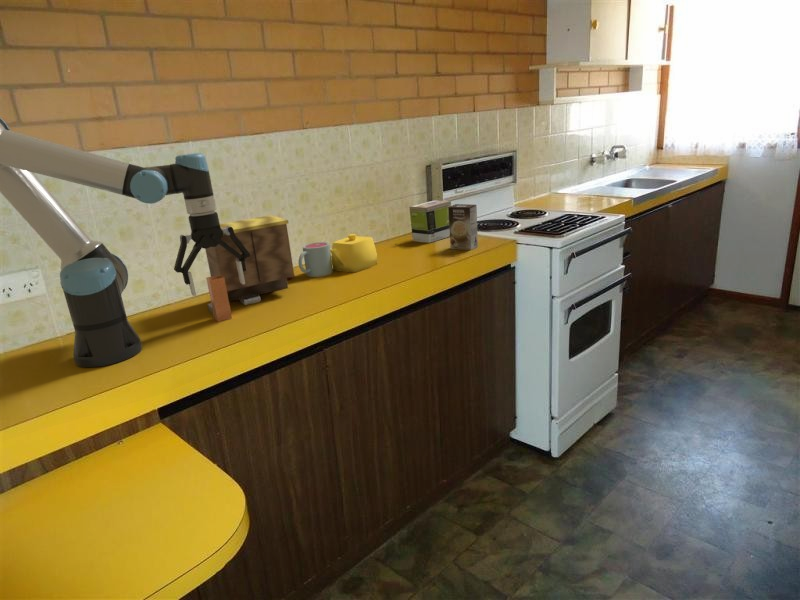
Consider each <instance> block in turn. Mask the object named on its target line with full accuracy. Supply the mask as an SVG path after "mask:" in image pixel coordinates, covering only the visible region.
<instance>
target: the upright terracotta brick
mask: <svg viewBox="0 0 800 600" xmlns="http://www.w3.org/2000/svg"><path fill="white" fill-rule="evenodd" d="M205 279H206V283H207V288H208V294H209V298H210V303H207V308H208V310H209V311H210V312H211V313H212V314H213V319H215V320H216V321H217V322H222V321H223V322H224V321H226V320H227V321H228V320H231V319H233V316H232V311H231V306H230V302H229V299H228V294H227V289H226V284H225V278H224V277H223V276H222V275H216V276H211V275H210V276H207V277H206V278H205Z"/></svg>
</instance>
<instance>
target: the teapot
mask: <svg viewBox="0 0 800 600" xmlns="http://www.w3.org/2000/svg"><path fill="white" fill-rule="evenodd" d="M330 253H331V260H332V268H333V271H338V272H345V273H358V272H361V271H364V270H367V269H370V268H372V267H374V266H377V264H378V254H377V248H376V245H375V242H374V239H373V237H372V236H367V235H366V236H361V235H357V233H356V234H355V233H351V234H347V237H345V238H341V239H339V240H335V241H333V242H332V243H331V249H330Z"/></svg>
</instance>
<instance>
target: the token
mask: <svg viewBox="0 0 800 600" xmlns="http://www.w3.org/2000/svg"><path fill="white" fill-rule="evenodd" d="M239 298H240V299H239V302H240V303H242V304H243V305H245V306H247V305H250V304H251V305H252V304H256V303H259V302H262V299H261V296H260V294H259V295H258V294H256V293H252V294H248V295H243V296H239Z"/></svg>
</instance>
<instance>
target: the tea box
mask: <svg viewBox="0 0 800 600" xmlns="http://www.w3.org/2000/svg"><path fill="white" fill-rule="evenodd" d="M450 206H452V201H451V200H435V199H434V200H431V201H427V202H423V203H418V204H416V205H415V204H414V205H410V206H409V207H408V208H409V216H410V226H411V237H412V241H413V242H418V243H425V244H429V243H433V242H434V243H435V242H436V241H440V240H442V239H443V240H444V239H446V238H450V228H449V210H448V207H450Z"/></svg>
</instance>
